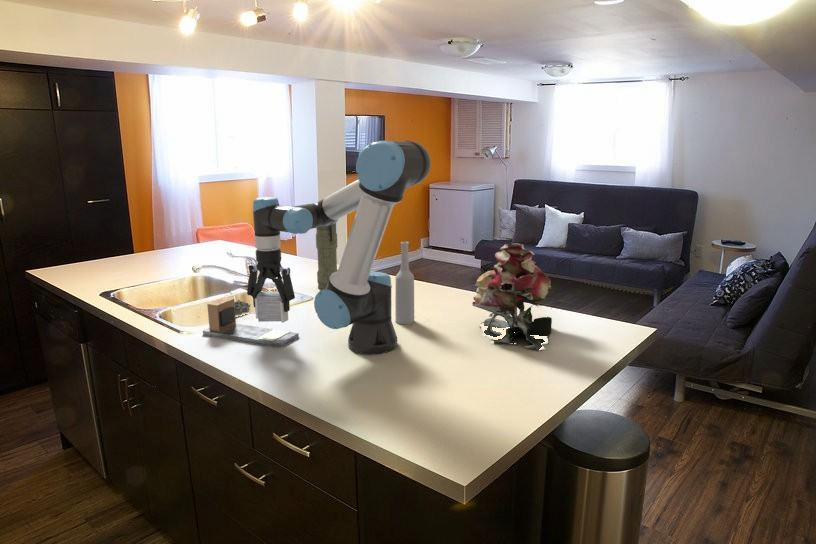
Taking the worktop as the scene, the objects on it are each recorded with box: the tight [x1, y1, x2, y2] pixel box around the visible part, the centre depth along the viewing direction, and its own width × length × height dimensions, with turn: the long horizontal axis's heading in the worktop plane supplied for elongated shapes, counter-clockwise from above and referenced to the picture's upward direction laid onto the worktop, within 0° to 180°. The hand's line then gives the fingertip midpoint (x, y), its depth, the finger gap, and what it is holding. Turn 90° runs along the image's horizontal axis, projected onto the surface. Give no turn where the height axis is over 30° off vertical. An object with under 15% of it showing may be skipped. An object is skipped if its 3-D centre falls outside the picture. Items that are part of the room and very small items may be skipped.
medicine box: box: [257, 291, 282, 323], centre depth 175 cm, size 8×4×9 cm, turn 92°
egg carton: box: [234, 299, 252, 316], centre depth 205 cm, size 11×8×4 cm
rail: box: [202, 297, 300, 349], centre depth 180 cm, size 30×10×10 cm, turn 67°
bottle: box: [394, 241, 415, 325], centre depth 192 cm, size 7×7×28 cm
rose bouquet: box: [471, 242, 554, 351], centre depth 180 cm, size 26×29×30 cm
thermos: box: [315, 222, 338, 291], centre depth 235 cm, size 9×12×35 cm
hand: (272, 319), depth 176 cm, fingers closed on medicine box, 9 cm apart
